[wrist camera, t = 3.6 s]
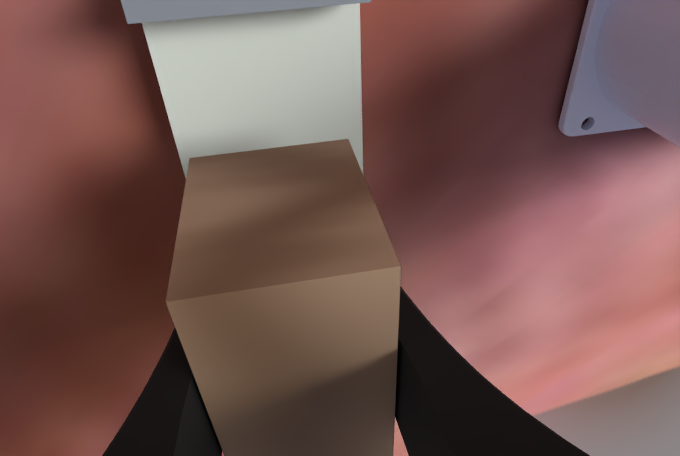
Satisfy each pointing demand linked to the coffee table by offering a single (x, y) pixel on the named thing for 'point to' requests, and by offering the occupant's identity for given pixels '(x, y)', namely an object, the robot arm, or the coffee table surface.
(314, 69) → the rail
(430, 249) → the coffee table surface
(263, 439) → the tan cardboard box
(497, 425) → the robot arm
